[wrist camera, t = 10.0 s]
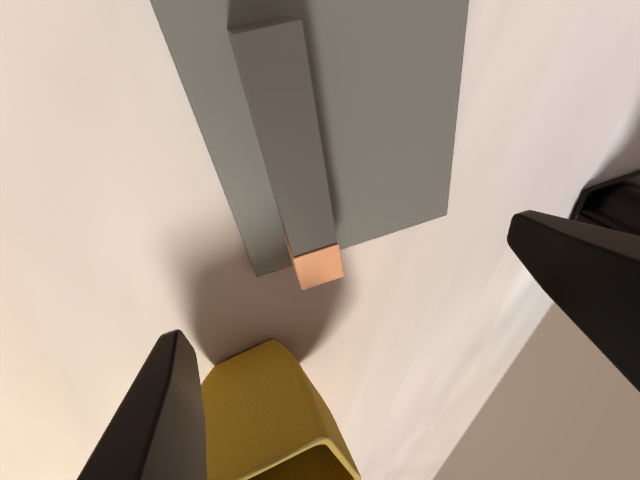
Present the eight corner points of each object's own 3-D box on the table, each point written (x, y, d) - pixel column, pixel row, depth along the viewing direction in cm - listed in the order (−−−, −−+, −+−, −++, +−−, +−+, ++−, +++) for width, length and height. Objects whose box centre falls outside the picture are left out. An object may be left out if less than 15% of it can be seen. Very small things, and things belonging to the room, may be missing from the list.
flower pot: (289, 309, 24) (329, 438, 17) (323, 367, 29) (363, 482, 23) (174, 361, 23) (167, 515, 17) (231, 410, 29) (243, 541, 22)
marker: (287, 15, 13) (303, 19, 11) (329, 250, 21) (343, 276, 19) (225, 29, 13) (231, 35, 11) (291, 262, 21) (302, 290, 19)
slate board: (469, -100, 13) (479, -103, 13) (441, 210, 23) (446, 215, 22) (136, -39, 11) (134, -40, 11) (255, 270, 21) (257, 276, 20)
